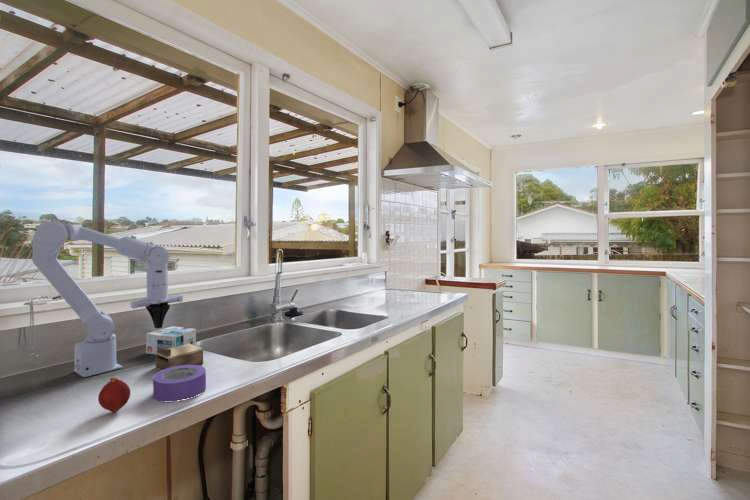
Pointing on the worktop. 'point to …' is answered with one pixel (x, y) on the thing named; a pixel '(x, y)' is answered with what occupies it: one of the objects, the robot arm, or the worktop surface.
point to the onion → (114, 395)
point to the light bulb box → (169, 338)
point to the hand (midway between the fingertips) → (158, 327)
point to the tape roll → (179, 382)
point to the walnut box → (179, 360)
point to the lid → (177, 351)
